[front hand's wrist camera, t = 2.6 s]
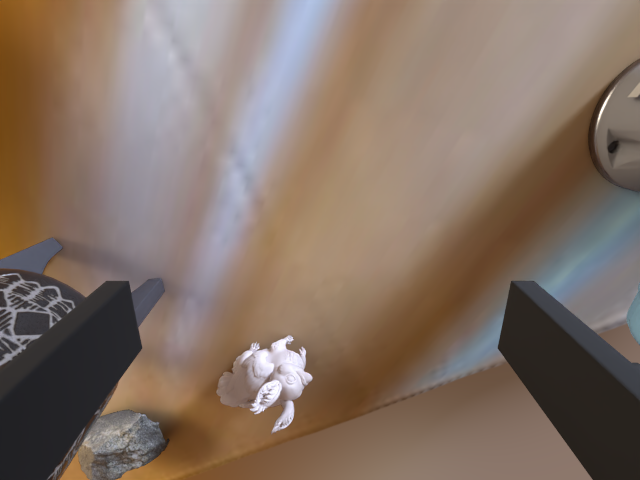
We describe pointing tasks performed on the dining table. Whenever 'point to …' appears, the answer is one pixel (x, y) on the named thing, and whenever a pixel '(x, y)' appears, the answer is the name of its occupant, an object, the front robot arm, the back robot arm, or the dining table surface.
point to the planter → (49, 312)
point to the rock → (120, 445)
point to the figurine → (266, 380)
